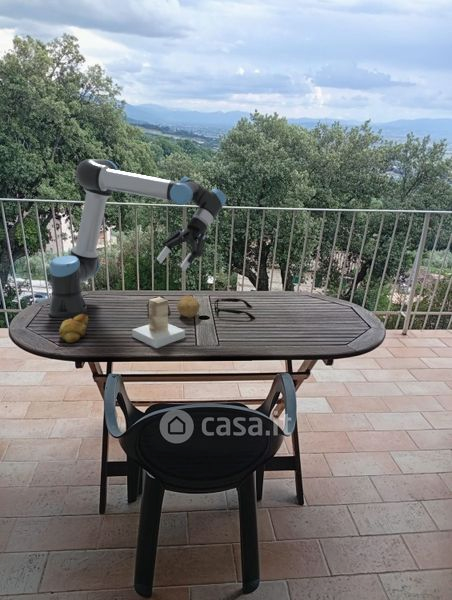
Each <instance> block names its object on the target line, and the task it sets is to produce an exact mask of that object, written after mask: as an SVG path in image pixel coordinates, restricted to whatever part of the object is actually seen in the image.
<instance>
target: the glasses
mask: <svg viewBox="0 0 452 600" xmlns="http://www.w3.org/2000/svg"><path fill="white" fill-rule="evenodd" d="M219 302H232V303H233V302H234V303H238V302H243V303H244V305H245V306H246V307H247V308H248V307H252V308H253V306H252V305H251V304H250V303H249V302H248V301H246V300H245V299H242V298H220V299H218V298H217V299H216V300H215V301H214V303H213V304H214V313H215V314H216V313H217V315H216V316H217V317H219V314H220V313H219V312H225V313H231V314H237V315H241V314H244V315H246V316H247V317H248V318H249V319H251V320H256V316H254V315H252V314H251V313H250V312H248V311H244V310H236V309H223V308H222V309H220V308H219ZM216 309H217V310H216Z"/></svg>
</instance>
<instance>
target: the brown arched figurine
mask: <svg viewBox="0 0 452 600" xmlns="http://www.w3.org/2000/svg"><path fill="white" fill-rule="evenodd" d="M157 297H161V298H164V299H166V298H165V296H163V295H160V296H159V295H158V296H154V297H152V298H151V299H153V298H157ZM145 306H146V308H147V309H146V310H147V312H148V313H149V300H148V301H147V304H146V305H145ZM170 314H171V308H170V305H169V304H168V315H170Z"/></svg>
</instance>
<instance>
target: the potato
mask: <svg viewBox="0 0 452 600" xmlns="http://www.w3.org/2000/svg"><path fill="white" fill-rule="evenodd" d="M176 307H177V311H178V313H179V314H180V315H182V316H183V317H185V318H189V319H190V318H192V317H196V315H197V314H198V312H200V311H199V310H200V307H201V306H200V302H199V301H198V300H197V299H196V298H195V297H194V296H192V295H184V296H183V297H181V298H180V299H179V301H178V303H177V306H176Z"/></svg>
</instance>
